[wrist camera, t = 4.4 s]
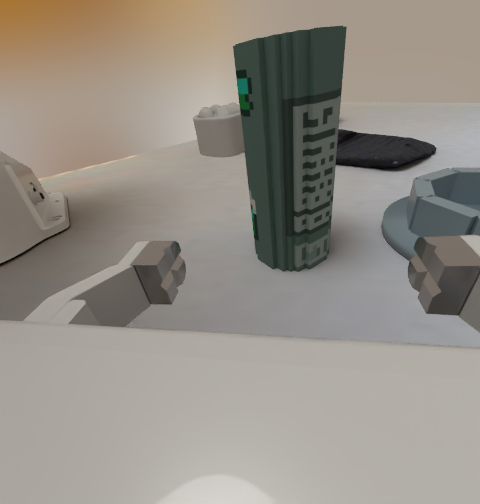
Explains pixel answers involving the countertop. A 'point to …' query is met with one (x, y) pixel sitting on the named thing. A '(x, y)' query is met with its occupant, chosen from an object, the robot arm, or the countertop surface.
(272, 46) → the can
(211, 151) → the lumpy-topped squat cylinder
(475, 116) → the countertop surface
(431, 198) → the collar seat
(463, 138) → the countertop surface
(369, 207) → the countertop surface
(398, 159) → the dark slate chunk
